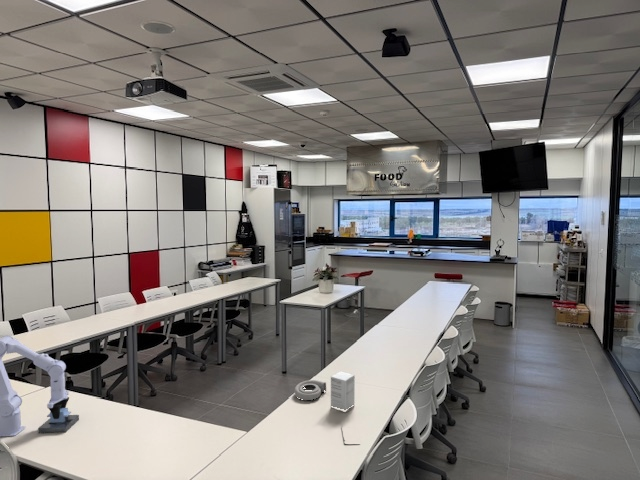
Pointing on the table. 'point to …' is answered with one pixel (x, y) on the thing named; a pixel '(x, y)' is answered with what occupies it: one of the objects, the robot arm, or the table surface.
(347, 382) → the supplement box
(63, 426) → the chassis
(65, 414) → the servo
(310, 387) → the turbocharger housing
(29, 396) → the table surface
